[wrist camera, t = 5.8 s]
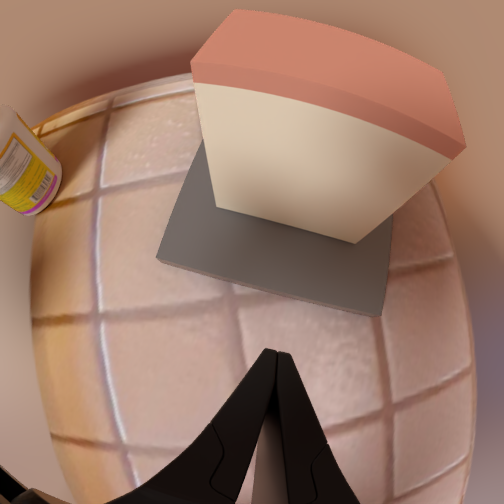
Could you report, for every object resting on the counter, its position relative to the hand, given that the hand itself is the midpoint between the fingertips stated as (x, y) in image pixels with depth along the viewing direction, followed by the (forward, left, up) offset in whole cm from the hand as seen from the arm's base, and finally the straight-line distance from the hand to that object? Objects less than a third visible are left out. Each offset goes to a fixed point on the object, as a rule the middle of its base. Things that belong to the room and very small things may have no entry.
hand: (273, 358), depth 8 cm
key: (+7, +8, -9) cm, 14 cm away
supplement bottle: (-12, +22, -11) cm, 27 cm away
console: (+8, +8, -10) cm, 15 cm away
